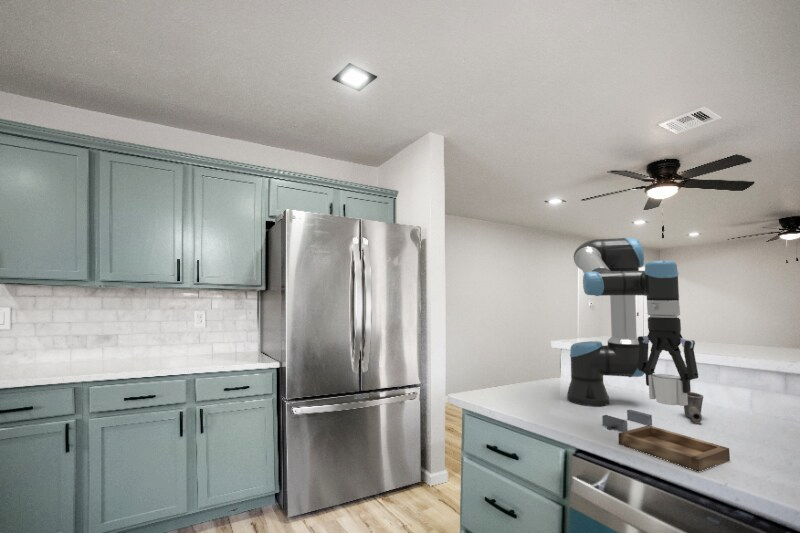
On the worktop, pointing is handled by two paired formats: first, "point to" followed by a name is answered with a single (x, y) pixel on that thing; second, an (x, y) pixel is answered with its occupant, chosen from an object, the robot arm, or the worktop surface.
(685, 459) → the tray
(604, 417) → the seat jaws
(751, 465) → the worktop surface
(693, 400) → the pipe
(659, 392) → the light grey cup
